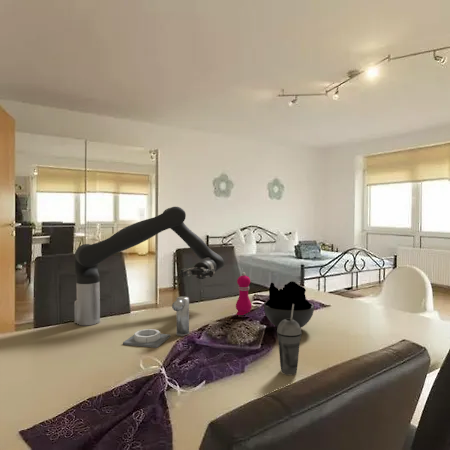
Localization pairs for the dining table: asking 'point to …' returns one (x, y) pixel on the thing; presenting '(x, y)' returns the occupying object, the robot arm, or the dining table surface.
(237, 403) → the dining table surface
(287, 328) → the beverage cup
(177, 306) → the duct elbow
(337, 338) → the dining table surface
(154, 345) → the plate
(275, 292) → the bowl of black rocks
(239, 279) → the pepper mill
